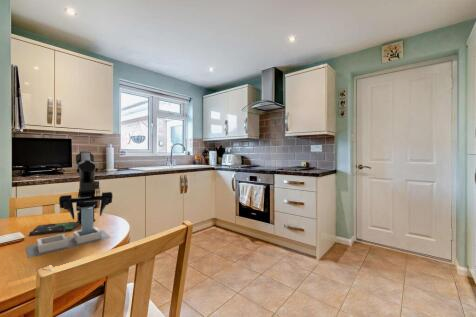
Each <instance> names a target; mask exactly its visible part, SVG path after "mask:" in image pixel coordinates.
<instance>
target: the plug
mask: <svg viewBox="0 0 476 317" xmlns="http://www.w3.org/2000/svg"><path fill="white" fill-rule="evenodd" d="M80 224H81V227H80V228H81V230H82V235H87V234H91V233H93V228H94V221H93V207H87V208H82V209H81V223H80Z"/></svg>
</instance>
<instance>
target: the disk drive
mask: <svg viewBox="0 0 476 317" xmlns="http://www.w3.org/2000/svg"><path fill="white" fill-rule="evenodd" d="M77 226H79V222H78V221H70V222H69V221H68V222H59V223H48V224H41V225H40V224H39V225H37V226H36V227H35V228H33V229H32V230H31V231H30V232H29V234H28V236H38V235H47V234H56V233H65V232H74V229H75V228H76V227H77Z"/></svg>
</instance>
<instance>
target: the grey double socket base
mask: <svg viewBox="0 0 476 317" xmlns="http://www.w3.org/2000/svg"><path fill="white" fill-rule="evenodd" d="M72 232H73V235H72V236H68V237H67V236H66V234H65V233H61V234H55V235H51V236H46V237H41V238H36V243H35V244H31V245H27V246H25V252H26V255H27V258H28V259H30V258H31V259H32V258H34V257H39V256H43V255H47V254H51V253H55V252H59V251H63V250H68V249H71V248H75V247H79V246H83V245H88V244H91V243H96V242H100V241H104V240H107V239H111V238H112V237H111V235H109V234H108V233H107V232H106V231H105V230H104V229H99V228H98V227H97V226H93V233H91V234H87V235H82V229H80V230H76V231H74V230H73V231H72Z"/></svg>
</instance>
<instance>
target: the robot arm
mask: <svg viewBox="0 0 476 317" xmlns="http://www.w3.org/2000/svg"><path fill="white" fill-rule="evenodd" d="M75 164H76V174H78V177H79V181H78V182H79V186H78V187H79V188H78V193H77V197H72V194H65V195H60V196H59V199H58V204H59V208H60V209H63V210H67V212H68V213H69V214H70V216H71V218H72V220H75V211H74V205H73V203H74V204H75V206H76V209H75V210H76V222H77V223H78V224H81V209H82V208H87V207H93V222H95V221H96V219H95V210H96V209H99V208H98V207H99V206H98V205H99V204H98V202H99V201H100V209H99V216H100V217H101V216H102V215H103V212H104V209H105V208H106V206H108V205H109V204H112V203H113V198H114V197H113V192H111V191H104V192H101V195H96V190H99V189H100V181H99V180H95V175H96V174H97V172H98V171H99V167H97V165H95V156H94V154H92V152H91V151H90V150H81V151H79V153H77V154H76V155H75Z"/></svg>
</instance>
